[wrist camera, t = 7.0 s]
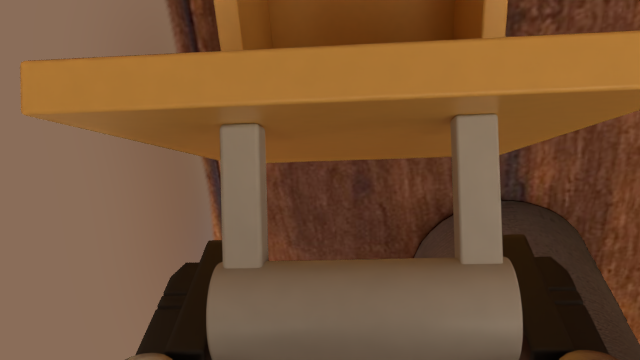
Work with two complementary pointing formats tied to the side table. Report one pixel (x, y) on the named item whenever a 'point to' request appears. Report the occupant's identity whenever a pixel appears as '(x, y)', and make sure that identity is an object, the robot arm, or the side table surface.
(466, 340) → the lid
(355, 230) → the side table surface
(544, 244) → the pillar candle
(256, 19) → the case
